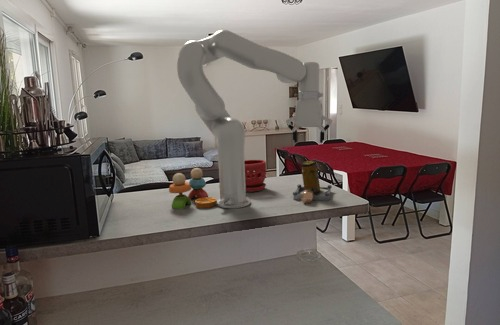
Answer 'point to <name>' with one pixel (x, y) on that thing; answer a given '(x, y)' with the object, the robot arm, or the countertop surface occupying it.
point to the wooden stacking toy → (197, 191)
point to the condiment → (311, 178)
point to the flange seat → (311, 194)
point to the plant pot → (255, 175)
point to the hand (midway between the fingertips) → (308, 142)
